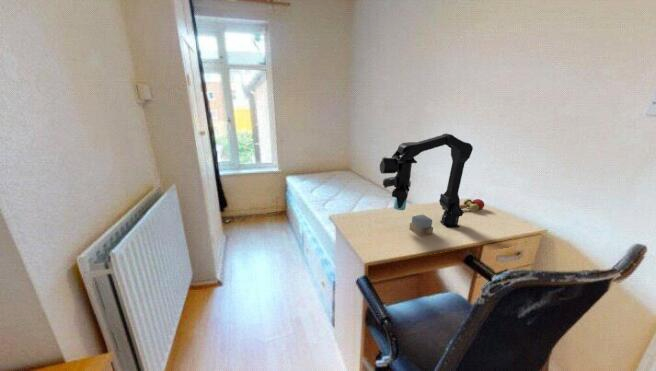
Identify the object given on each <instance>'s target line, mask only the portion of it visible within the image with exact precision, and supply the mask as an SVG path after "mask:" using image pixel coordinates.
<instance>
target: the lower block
mask: <svg viewBox="0 0 656 371" xmlns="http://www.w3.org/2000/svg"><path fill="white" fill-rule="evenodd" d="M408 230H409V231H411V232H412V233H414V234H415V235H417V236H418V237H425V236H430V235H432V234H433V231H434V227H432V226H431V227H429V228H424V229H419V228H418V227H416V226H415V225H413V224H412V222H409V228H408Z"/></svg>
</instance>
